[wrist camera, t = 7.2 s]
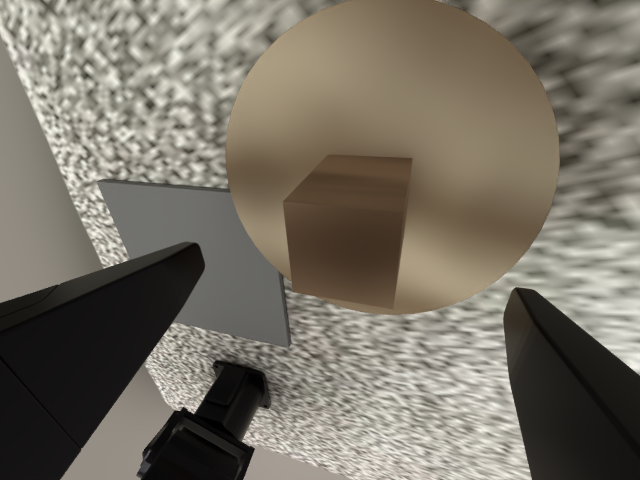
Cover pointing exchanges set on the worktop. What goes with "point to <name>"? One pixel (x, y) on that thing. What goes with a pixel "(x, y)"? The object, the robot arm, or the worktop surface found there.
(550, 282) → the worktop surface
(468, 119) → the lid
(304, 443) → the worktop surface
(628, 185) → the worktop surface
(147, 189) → the mat
